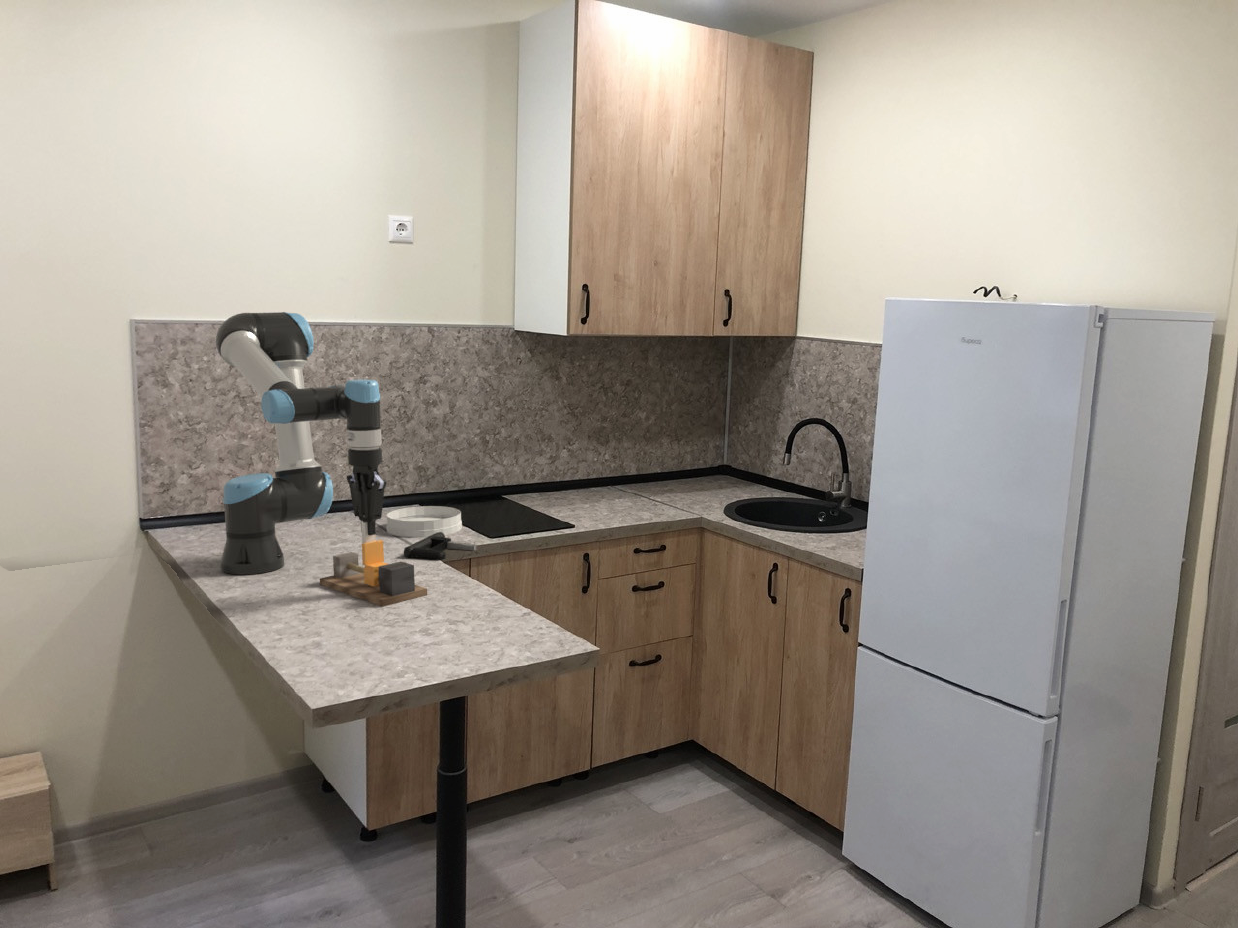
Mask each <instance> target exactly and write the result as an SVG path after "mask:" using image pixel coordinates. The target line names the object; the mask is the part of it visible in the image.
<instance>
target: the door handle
mask: <svg viewBox="0 0 1238 928" xmlns="http://www.w3.org/2000/svg"><path fill="white" fill-rule="evenodd" d="M403 549H404V550H403V555H404V556H405V557H406V558H409V559H410V558H418V559H427V560H434V561H442V560H444V559H446V556H447V553H446V552H445V551H446V550H447V549H449V550H457V551H458V550H462V551H476V550H477V544H473V543H467V542H458V541H452V538H449V537H446V535H444V533H442V532H437V533H435V534H433V535H431V536H429V537H424V538H423V539H421V540H419V541H417V542H415V543H412V544H410V545H408V546H406V547H404V548H403Z"/></svg>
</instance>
